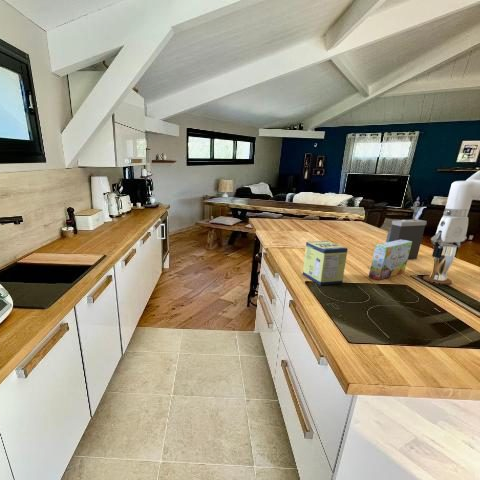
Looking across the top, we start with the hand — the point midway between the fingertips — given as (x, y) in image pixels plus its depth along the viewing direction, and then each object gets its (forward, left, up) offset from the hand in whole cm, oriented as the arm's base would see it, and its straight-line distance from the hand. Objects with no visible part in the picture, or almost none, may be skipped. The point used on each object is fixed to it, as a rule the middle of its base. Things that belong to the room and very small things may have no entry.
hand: (443, 256), depth 131 cm
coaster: (0, 0, -11) cm, 11 cm away
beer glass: (0, 0, -10) cm, 10 cm away
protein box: (+47, -12, -11) cm, 50 cm away
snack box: (+15, -11, -11) cm, 22 cm away
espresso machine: (-13, -36, -11) cm, 40 cm away
